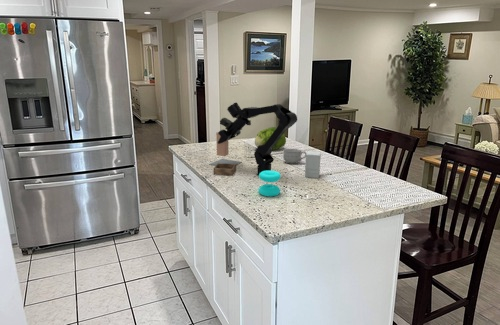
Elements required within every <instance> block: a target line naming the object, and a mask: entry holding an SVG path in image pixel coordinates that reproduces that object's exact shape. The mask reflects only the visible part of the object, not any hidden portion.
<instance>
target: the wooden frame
mask: <svg viewBox="0 0 500 325" xmlns="http://www.w3.org/2000/svg"><path fill="white" fill-rule="evenodd" d="M236 171H237V165H236V164H224V163H217V165H216V166H214V167H213V175H214V174H216V175H215V176H228V177H229V176H234V174H235V173H236Z"/></svg>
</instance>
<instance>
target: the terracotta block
mask: <svg viewBox="0 0 500 325" xmlns="http://www.w3.org/2000/svg"><path fill="white" fill-rule="evenodd" d="M218 132H219V131H218ZM218 132H216V135H215V136H216V138H215V139H216V156H220V157H226V156H228V155H229V140H228V141H225V142H223V143H220V144H218V141H219V139H220V137H221V136H220V135H219V134H218Z"/></svg>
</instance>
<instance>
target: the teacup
mask: <svg viewBox="0 0 500 325" xmlns="http://www.w3.org/2000/svg"><path fill="white" fill-rule="evenodd" d="M282 151H283V153H282V154H283V161H284V162H286V163H287V164H292V165H293V164H298V163H299V162H301V161H302V160H304V159H306V153H307V152H306V151H305V150H303V151H302V149H298V148H285V149H284V148H283V150H282ZM303 154H305V155H304V156H302V155H303Z"/></svg>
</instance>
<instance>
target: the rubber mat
mask: <svg viewBox="0 0 500 325" xmlns="http://www.w3.org/2000/svg"><path fill="white" fill-rule="evenodd" d="M217 163H224V164H236V166H237V165H240V164H243V161H237V160H232V159H227V158H226V159H225V158H221V159H218V160H216V161H213V162H211V163H209V165H210V166H214V167H215V166H216V165H217Z"/></svg>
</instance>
